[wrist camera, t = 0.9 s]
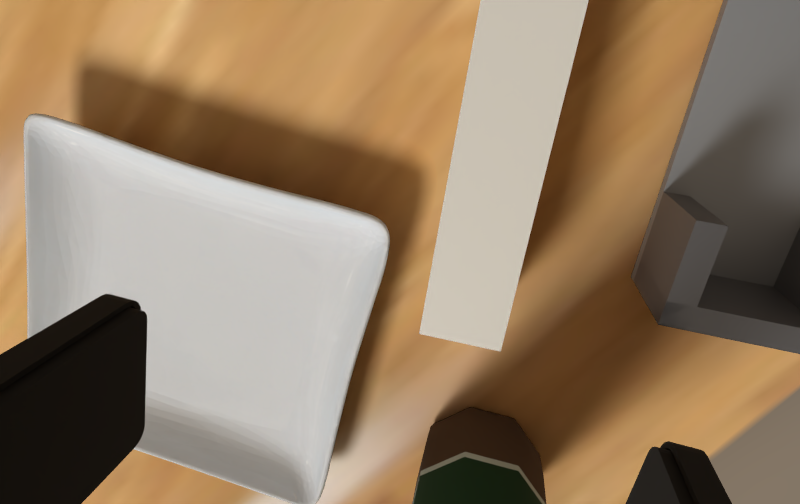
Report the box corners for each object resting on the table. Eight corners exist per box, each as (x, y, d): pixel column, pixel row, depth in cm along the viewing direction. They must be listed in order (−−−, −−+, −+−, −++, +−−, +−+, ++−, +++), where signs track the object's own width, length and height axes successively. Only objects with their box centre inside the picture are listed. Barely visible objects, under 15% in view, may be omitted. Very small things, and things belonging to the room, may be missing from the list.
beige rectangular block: (489, -13, 26) (486, -29, 21) (573, 0, 26) (591, -14, 21) (433, 285, 32) (419, 333, 27) (500, 299, 32) (500, 351, 26)
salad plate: (330, 480, 39) (315, 518, 36) (59, 387, 41) (21, 415, 37) (407, 206, 31) (396, 224, 28) (65, 101, 33) (18, 107, 29)
